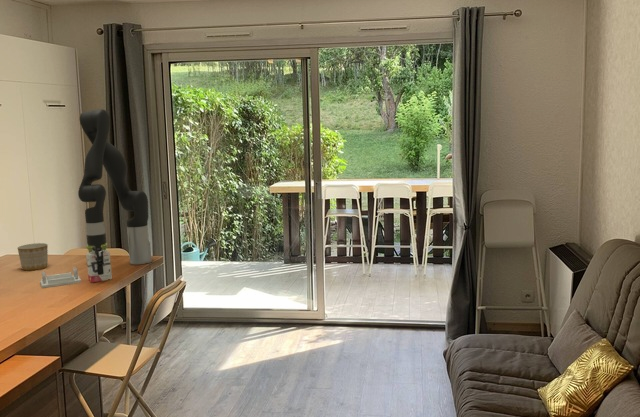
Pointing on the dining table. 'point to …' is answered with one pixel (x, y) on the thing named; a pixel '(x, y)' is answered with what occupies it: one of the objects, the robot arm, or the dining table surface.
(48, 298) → the dining table surface
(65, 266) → the dining table surface
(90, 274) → the ink box
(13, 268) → the dining table surface
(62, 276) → the white pegged base plate
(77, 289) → the dining table surface
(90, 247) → the plant pot
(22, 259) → the planter
